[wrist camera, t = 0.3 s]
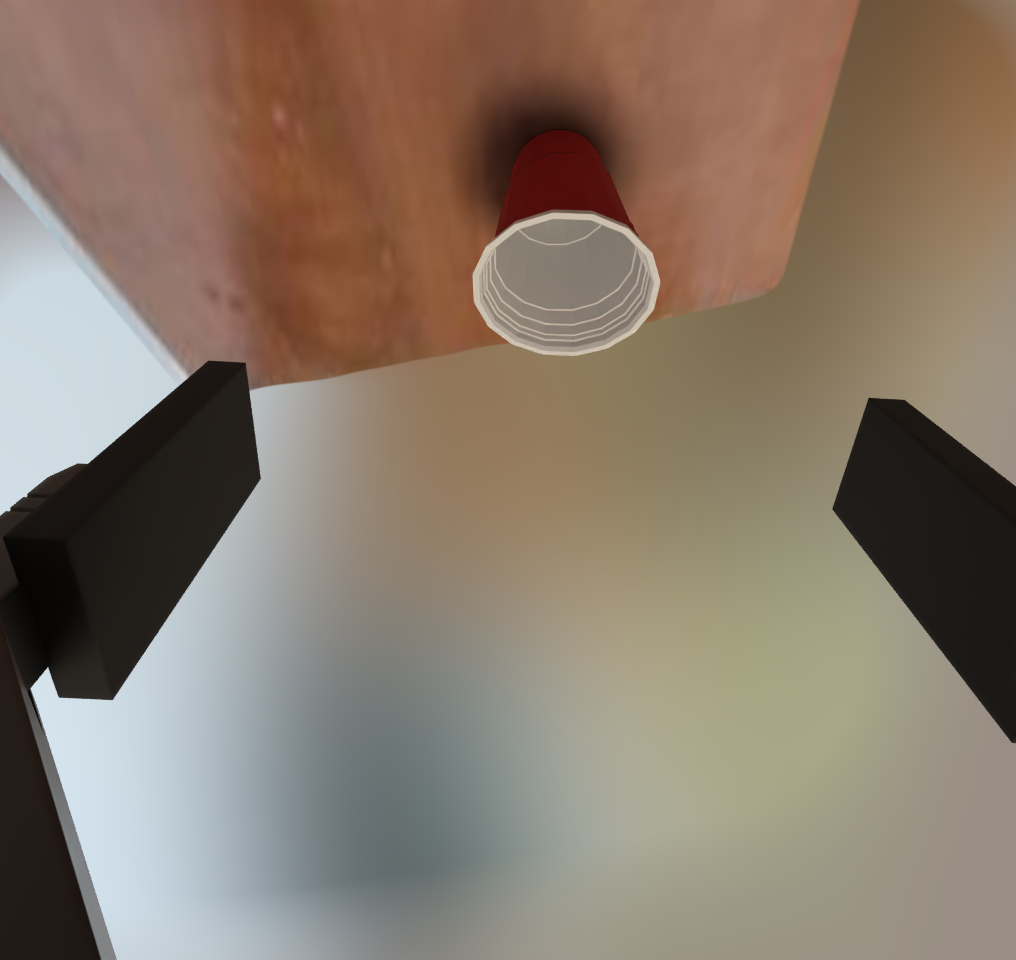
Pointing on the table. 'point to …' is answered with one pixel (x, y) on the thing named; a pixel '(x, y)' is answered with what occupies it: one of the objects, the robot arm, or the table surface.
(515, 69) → the table surface
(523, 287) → the plastic cup
